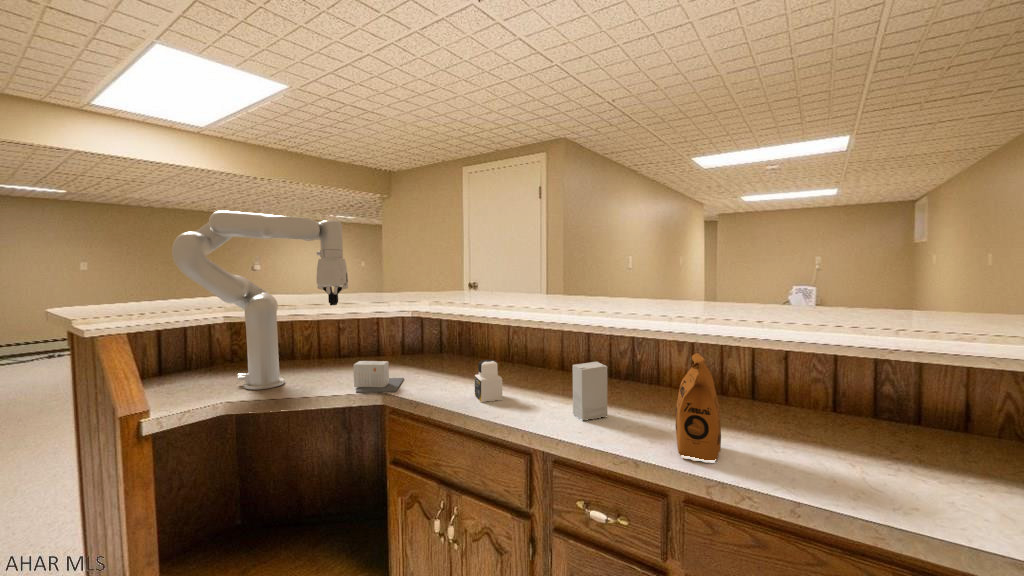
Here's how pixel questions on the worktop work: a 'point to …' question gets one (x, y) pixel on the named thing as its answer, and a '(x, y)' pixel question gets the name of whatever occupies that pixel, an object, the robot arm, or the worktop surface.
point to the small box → (371, 374)
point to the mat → (390, 387)
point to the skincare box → (590, 390)
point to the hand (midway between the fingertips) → (333, 304)
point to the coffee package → (698, 414)
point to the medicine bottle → (488, 382)
